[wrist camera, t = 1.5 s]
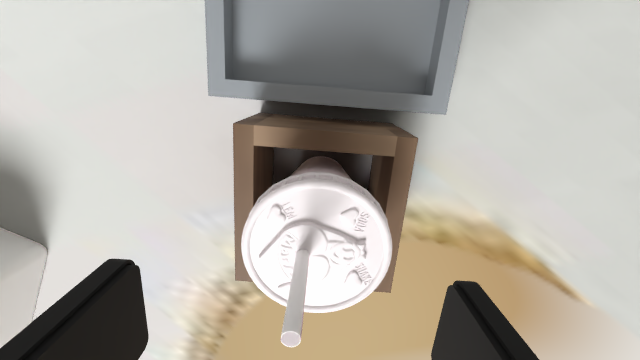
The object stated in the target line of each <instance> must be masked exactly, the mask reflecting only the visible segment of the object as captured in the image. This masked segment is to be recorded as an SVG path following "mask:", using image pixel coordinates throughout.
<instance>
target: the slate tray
mask: <svg viewBox="0 0 640 360" xmlns="http://www.w3.org/2000/svg"><path fill="white" fill-rule="evenodd" d="M468 3H469V0H205V17H206V43H207V69H208V95H209V96H218V97H230V98H243V99H255V100H268V101H281V102H293V103H306V104H318V105H331V106H343V107H356V108H368V109H381V110H393V111H406V112H418V113H431V114H443V115H446V112H447V107H448V102H449V97H450V92H451V87H452V82H453V77H454V72H455V67H456V62H457V57H458V52H459V47H460V43H461V38H462V33H463V28H464V23H465V18H466V13H467V8H468Z"/></svg>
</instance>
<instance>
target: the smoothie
mask: <svg viewBox="0 0 640 360" xmlns="http://www.w3.org/2000/svg"><path fill="white" fill-rule="evenodd" d="M241 250H242V257H243V261H244V264H245V267H246V269H247V272H248V274H249V275H250V277H251V279H252V280H253V282H254V283H255V284H256V285H257V287H258V288H259V289H260V290H261V291H262V292H263V293H265V294H266V295H267V296H268V297H270V298H271V299H273V300H274V301H276V302H278V303H280V304H281V305H284V306H286V312H285V318H284V323H283V329H282V334H281V342H282V343H283V344H284V345H285V346H288V347H295V346H297V345H298V344H299V343H300V341H301V333H302V323H303V314H304V312H312V313H324V312H332V311H337V310H341V309H344V308H347V307H350V306H352V305H354V304H356V303H358V302H360V301H361V300H363V299H364V298H366V297H367V296H368V295H369V294H370V293H372V292H373V291H374V290H375V289H376V288H377V286H378V285H379V284H380V283H381V281H382V280H383V278H384V276H385V274H386V273H387V270H388V268H389V265H390V261H391V256H392V239H391V233H390V230H389V227H388V221H387V218H386V216H385V214H384V212H383V210H382V208H381V206H380V204H379V203H378V202H377V200H376V199H375V198H374V197H373V196H372V195H371V194H370V193H369V192H368V191H367V190H366V189H365V188H363V187H362V186H360V185H359V184H357V183H355V182H354V181H352V179H351V178H350V177H349V176H348V174H347V173H346V172H345V170H344V169H343V168H342V166H341V165H340V164H339V163H338V162H337V161H335V160H334V159H332V158H329V157H325V156H316V157H312V158H310V159H308V160H306V161H305V162H304V163H302V164H301V165H300V166H299V167H298V169H297V170H296V171H295V172H294V173H293V174H292V175H291V176H290V177H288V178H286V179H284V180H282V181H280V182H278V183H276V184H274V185H272V186H271V187H270V188H269V189H268V190H267V191H266V192H265V193H264V194H262V195H261V196H260V197H259V198H258V200H257V202H256V203H255V205H254V207H253V208H252V210H251V211H250V213H249V217H248V219H247V221H246V223H245V226H244V229H243V234H242V241H241Z"/></svg>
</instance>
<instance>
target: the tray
mask: <svg viewBox="0 0 640 360" xmlns="http://www.w3.org/2000/svg"><path fill="white" fill-rule="evenodd" d="M47 255H48V254H47V249H46V248H45V246H43V245H42V244H40V243H38V242H35V241H33V240H30V239H28V238H25V237H23V236H20V235H18V234H15V233H13V232H10V231H8V230H5V229H3V228H0V348H1V347H2V346H4V345H5V344H6V343H7V342H8V341H10V340H11V339H12V338H13V337H15V336H16V335H17V334H18V333H19V332H21V331H22V330H23V329H24V328H25V327H27V326H28V325H29V324H30V323H32V318H33V314H34V310H35V306H36V301H37V297H38V293H39V289H40V284H41V280H42V276H43V272H44V267H45V263H46V259H47Z"/></svg>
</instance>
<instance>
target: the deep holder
mask: <svg viewBox="0 0 640 360" xmlns="http://www.w3.org/2000/svg"><path fill="white" fill-rule="evenodd" d="M417 142H418V138H417V137H415V136H413V135H412V134H410V133H408V132H406V131H405V130H403V129H401V128H399V127H398V126H396V125H394V124H392V123H382V122H369V121H356V120H344V119H331V118H319V117H306V116H294V115H281V114H269V113H258V114H256V115H253V116H251V117H248V118H246V119H243V120H241V121H238V122H236V123H233V150H234V221H235V280H236V281H249V282H253V280H252V279H251V277H250V275H249V274H248V272H247V269H246V267H245V264H244V261H243V257H242V250H241V241H242V234H243V229H244V226H245V223H246V221H247V219H248V217H249V213H250V211H251V210H252V208H253V207H254V205H255V203H256V202H257V200H258V198H259V197H260V196H261V195H262V194H264V193H265V192H266V191H267V190H268V189H269V188H270V187H271V186H272V185H273V154H274V147H279V148H292V149H304V150H317V151H330V152H342V153H355V154H367V155H373V158H372V166H371V173H370V181H369V188H368V192H369V193H370V194H371V195H372V196H373V197H374V198H375V199H376V200H377V202H378V203H379V204H380V206H381V208H382V210H383V212H384V214H385V216H386V218H387V221H388V227H389V230H390V233H391V239H392V256H391V261H390V265H389V268H388V270H387V273H386V274H385V276H384V278H383V280H382V281H381V283H380V284H379V285H378V286H377V288H376V289H375V290H374V291H376V292H389V293H390V292H391V286H392V281H393V275H394V270H395V265H396V259H397V253H398V248H399V242H400V237H401V231H402V226H403V220H404V214H405V209H406V203H407V198H408V192H409V186H410V181H411V175H412V170H413V164H414V159H415V153H416V147H417Z"/></svg>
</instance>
